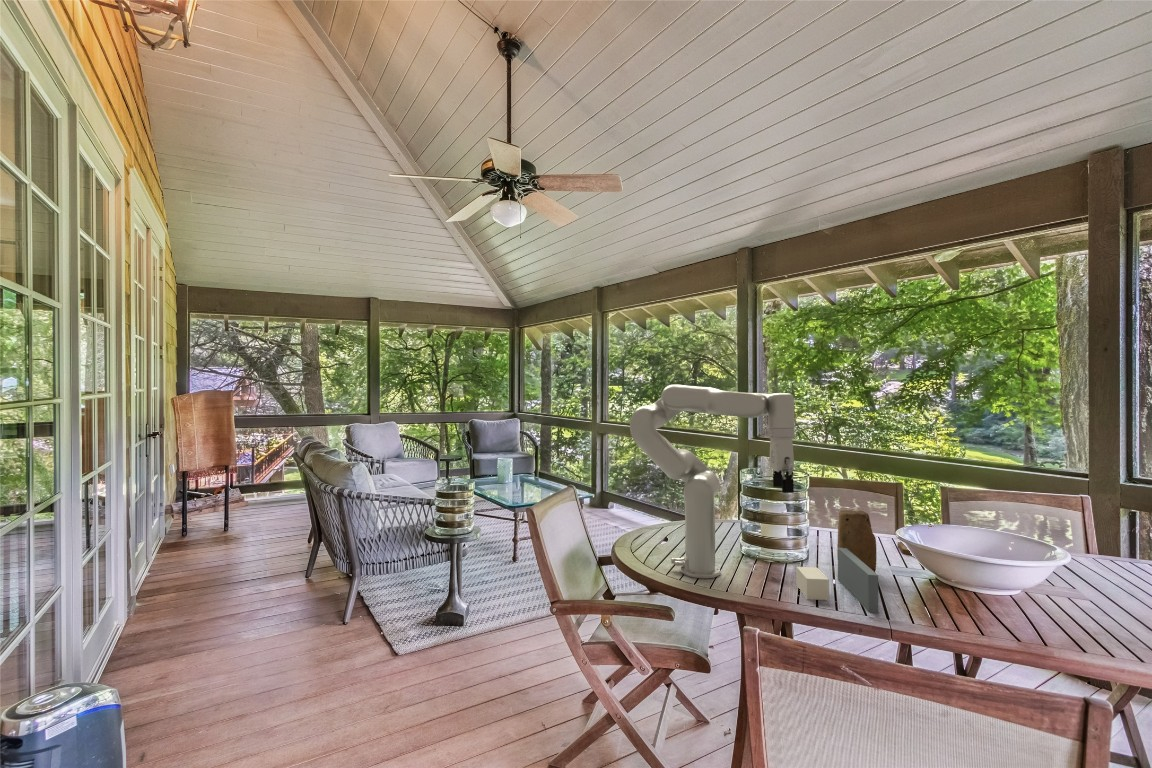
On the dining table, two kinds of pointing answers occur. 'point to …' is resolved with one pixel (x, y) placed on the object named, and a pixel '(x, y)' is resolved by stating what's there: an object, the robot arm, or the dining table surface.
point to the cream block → (812, 583)
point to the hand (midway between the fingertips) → (783, 489)
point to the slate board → (858, 579)
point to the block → (857, 536)
